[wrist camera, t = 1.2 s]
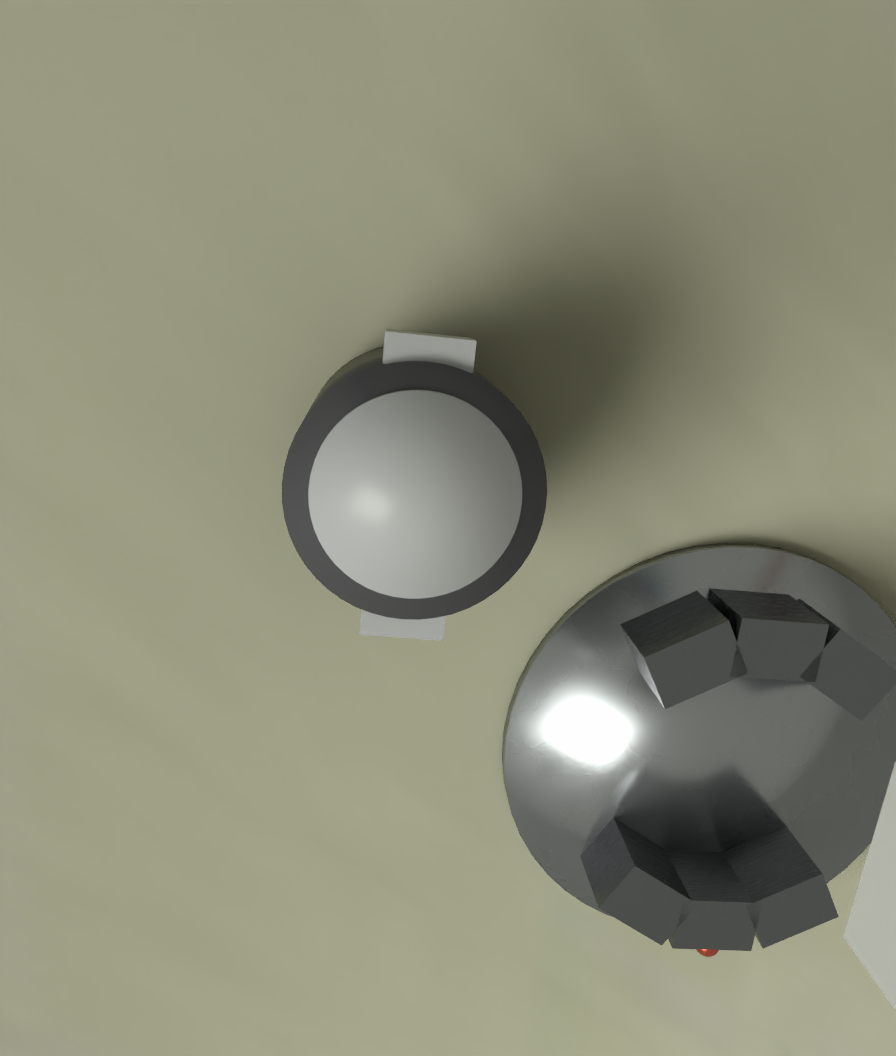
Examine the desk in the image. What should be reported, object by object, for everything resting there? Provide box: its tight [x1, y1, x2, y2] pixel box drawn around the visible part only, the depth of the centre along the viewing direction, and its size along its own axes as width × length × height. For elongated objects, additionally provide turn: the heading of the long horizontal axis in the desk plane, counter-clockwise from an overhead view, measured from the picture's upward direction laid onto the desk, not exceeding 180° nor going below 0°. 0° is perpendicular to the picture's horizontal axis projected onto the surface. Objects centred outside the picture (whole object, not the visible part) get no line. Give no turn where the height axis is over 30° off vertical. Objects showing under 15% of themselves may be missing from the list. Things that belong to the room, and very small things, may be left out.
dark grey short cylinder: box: [282, 329, 547, 640], centre depth 22 cm, size 7×6×6 cm
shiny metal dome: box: [502, 543, 896, 957], centre depth 27 cm, size 14×14×3 cm
